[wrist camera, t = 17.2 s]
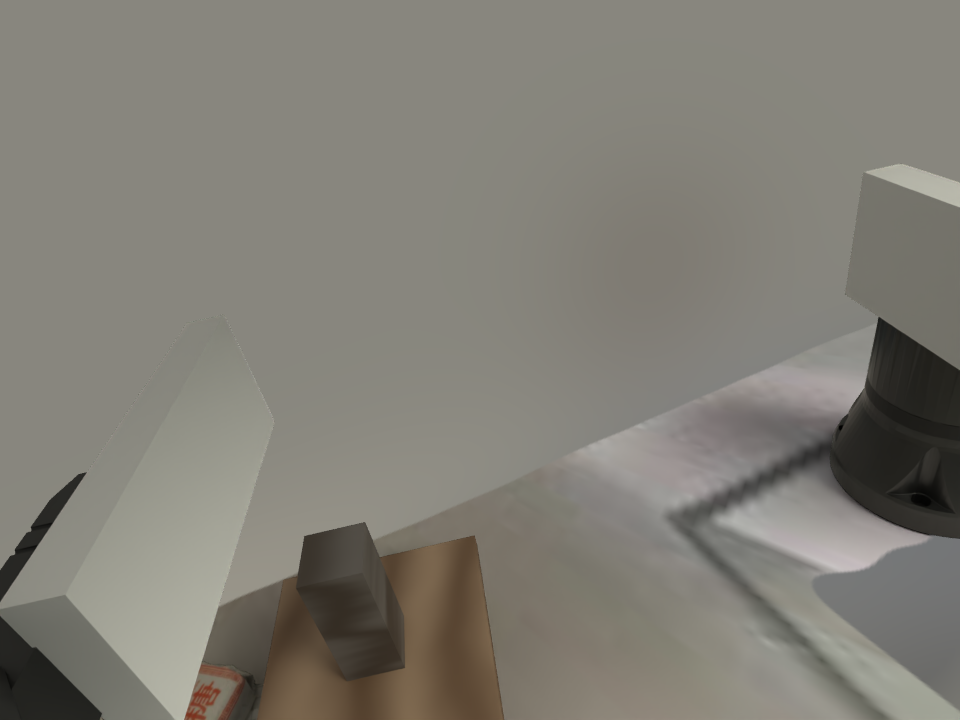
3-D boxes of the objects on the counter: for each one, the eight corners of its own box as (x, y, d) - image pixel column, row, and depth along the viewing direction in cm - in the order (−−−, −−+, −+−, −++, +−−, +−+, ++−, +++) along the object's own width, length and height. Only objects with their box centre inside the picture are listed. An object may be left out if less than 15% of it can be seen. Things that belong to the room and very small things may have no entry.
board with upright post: (477, 545, 49) (448, 442, 44) (509, 751, 36) (473, 642, 30) (288, 588, 49) (234, 492, 43) (248, 812, 36) (161, 715, 30)
